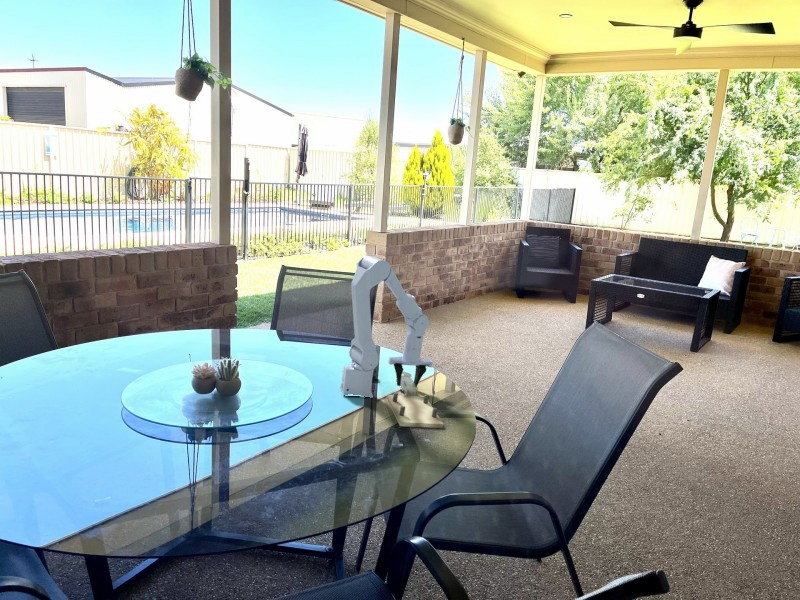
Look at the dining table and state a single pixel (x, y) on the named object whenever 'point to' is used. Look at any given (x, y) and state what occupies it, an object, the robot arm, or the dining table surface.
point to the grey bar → (408, 384)
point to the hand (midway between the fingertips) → (406, 385)
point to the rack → (414, 411)
